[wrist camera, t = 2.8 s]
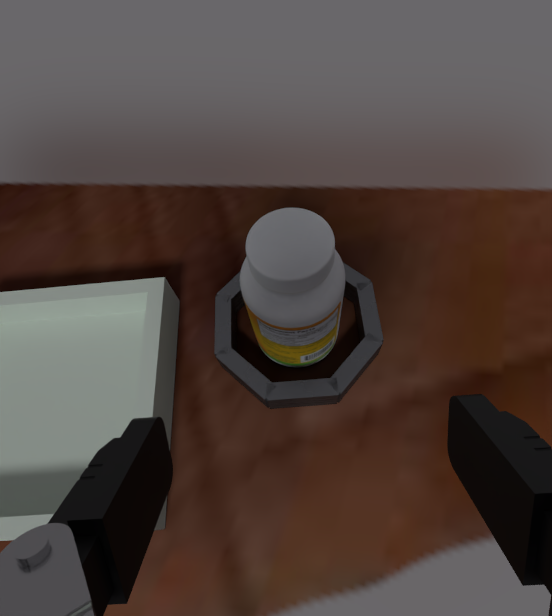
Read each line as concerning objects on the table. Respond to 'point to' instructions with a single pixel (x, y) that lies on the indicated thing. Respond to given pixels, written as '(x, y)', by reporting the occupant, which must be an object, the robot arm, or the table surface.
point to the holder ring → (302, 390)
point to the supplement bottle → (293, 286)
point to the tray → (77, 385)
